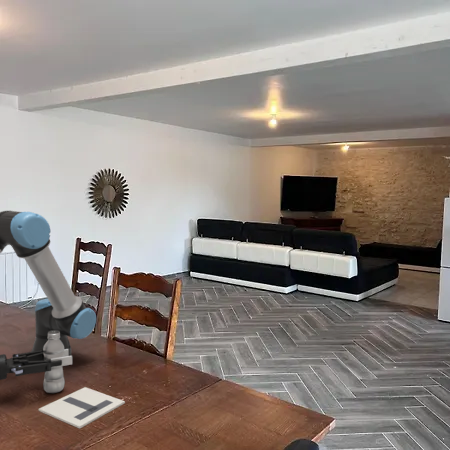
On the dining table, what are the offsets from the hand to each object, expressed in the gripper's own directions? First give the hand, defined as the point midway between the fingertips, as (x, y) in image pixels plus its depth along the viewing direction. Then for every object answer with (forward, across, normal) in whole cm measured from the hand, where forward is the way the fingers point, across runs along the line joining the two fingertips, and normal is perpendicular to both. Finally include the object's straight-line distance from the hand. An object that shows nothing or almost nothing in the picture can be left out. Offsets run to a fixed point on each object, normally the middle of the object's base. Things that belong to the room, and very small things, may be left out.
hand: (70, 356), depth 149 cm
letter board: (+1, +15, -11) cm, 19 cm away
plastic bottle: (-5, 0, -11) cm, 12 cm away
